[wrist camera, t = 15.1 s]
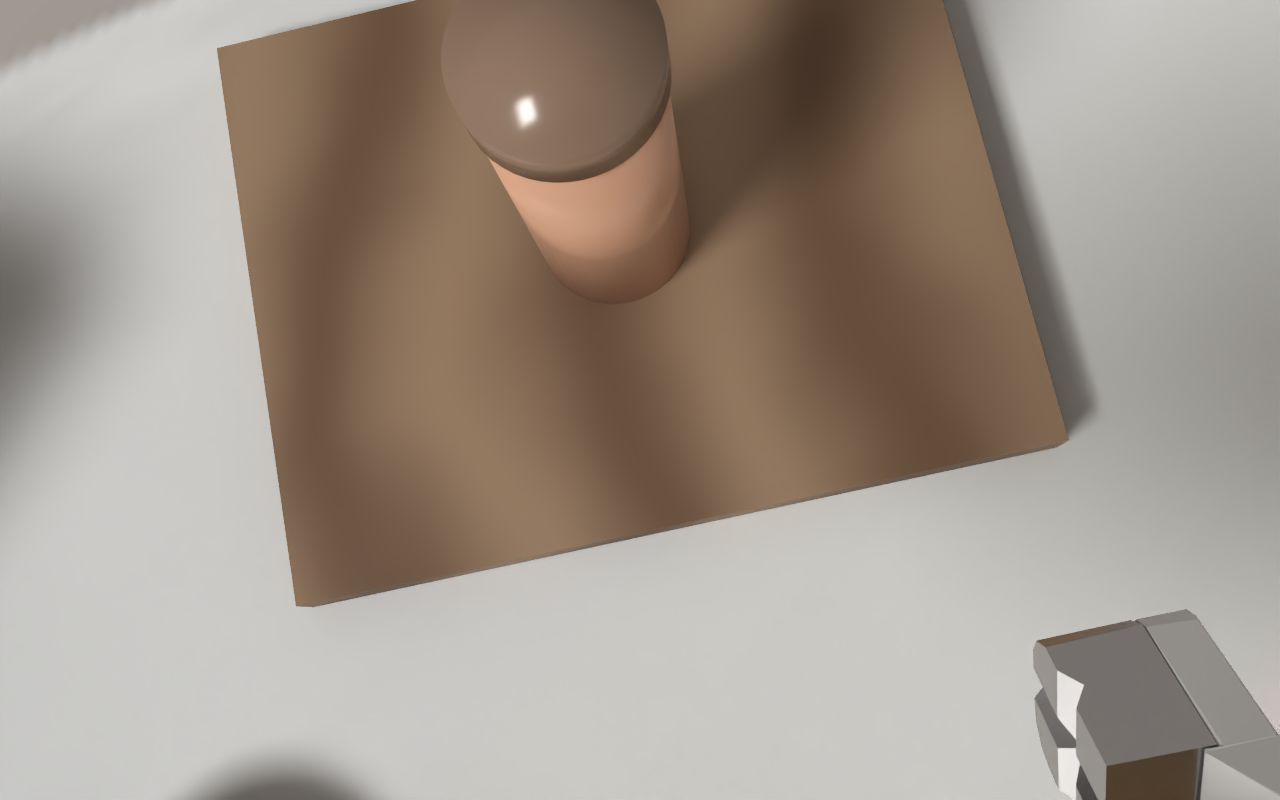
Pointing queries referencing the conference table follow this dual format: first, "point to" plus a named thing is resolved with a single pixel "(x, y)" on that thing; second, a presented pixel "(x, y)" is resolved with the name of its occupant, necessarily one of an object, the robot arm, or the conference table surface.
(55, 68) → the conference table surface
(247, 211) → the board
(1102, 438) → the conference table surface
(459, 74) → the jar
